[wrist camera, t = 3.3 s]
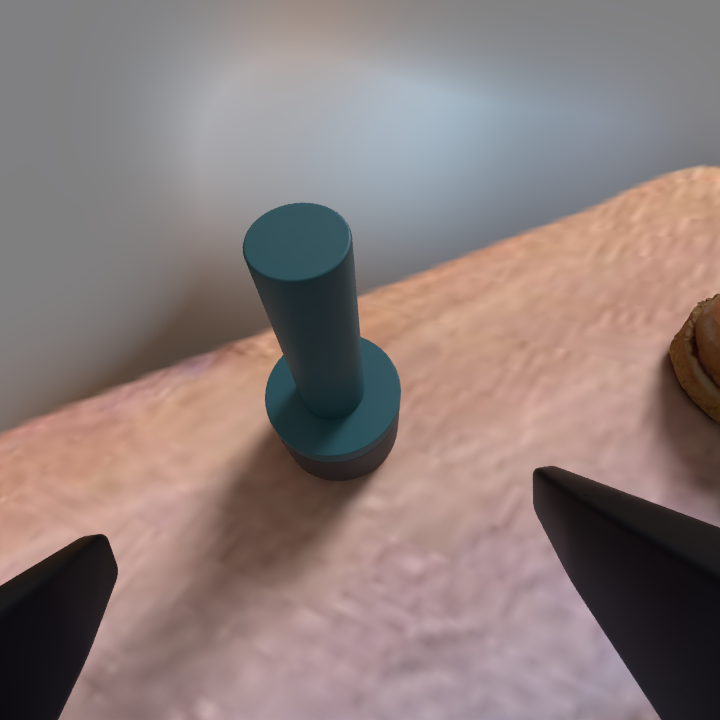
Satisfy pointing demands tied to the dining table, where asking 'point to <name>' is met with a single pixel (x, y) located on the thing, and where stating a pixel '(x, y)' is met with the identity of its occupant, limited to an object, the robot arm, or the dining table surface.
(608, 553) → the robot arm
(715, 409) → the burger
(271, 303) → the teal peg stand
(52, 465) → the dining table surface
